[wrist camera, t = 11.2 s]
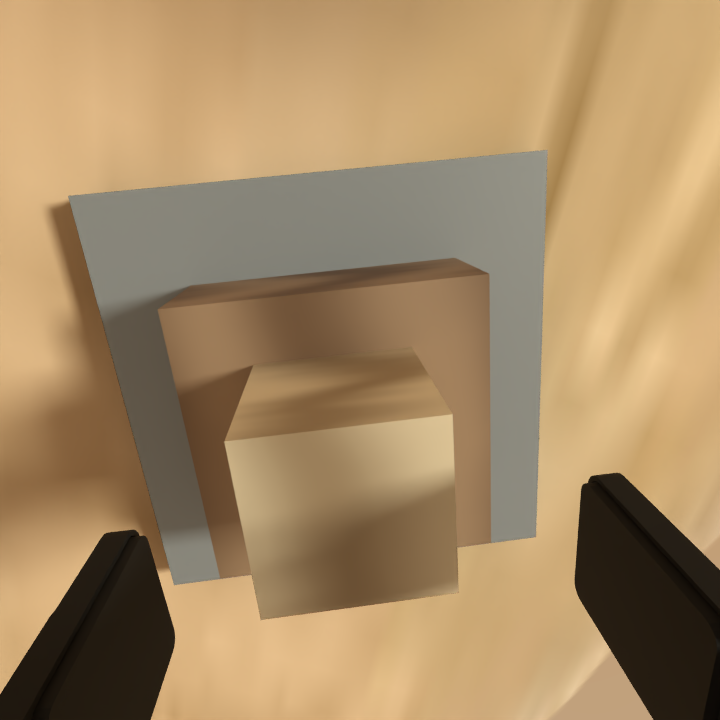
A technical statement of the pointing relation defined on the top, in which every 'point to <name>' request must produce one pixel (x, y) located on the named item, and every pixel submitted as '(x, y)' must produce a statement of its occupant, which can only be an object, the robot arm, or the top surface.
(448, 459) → the oak cube
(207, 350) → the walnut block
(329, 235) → the board
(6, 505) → the top surface
